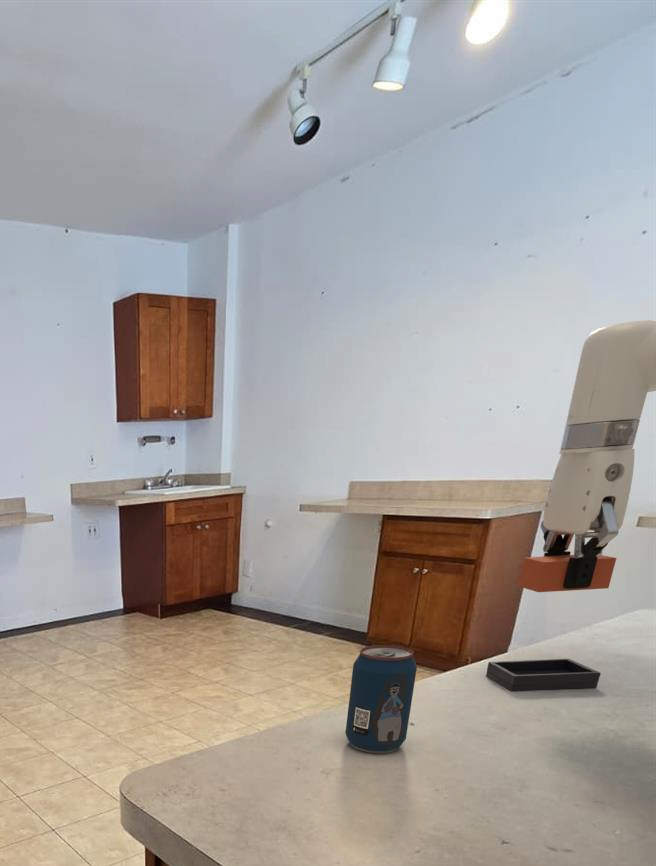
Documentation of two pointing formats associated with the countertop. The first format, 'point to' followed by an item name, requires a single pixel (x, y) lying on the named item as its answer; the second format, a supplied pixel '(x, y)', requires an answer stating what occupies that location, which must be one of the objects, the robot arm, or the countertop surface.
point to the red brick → (561, 573)
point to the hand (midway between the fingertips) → (563, 582)
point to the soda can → (380, 698)
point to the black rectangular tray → (542, 674)
